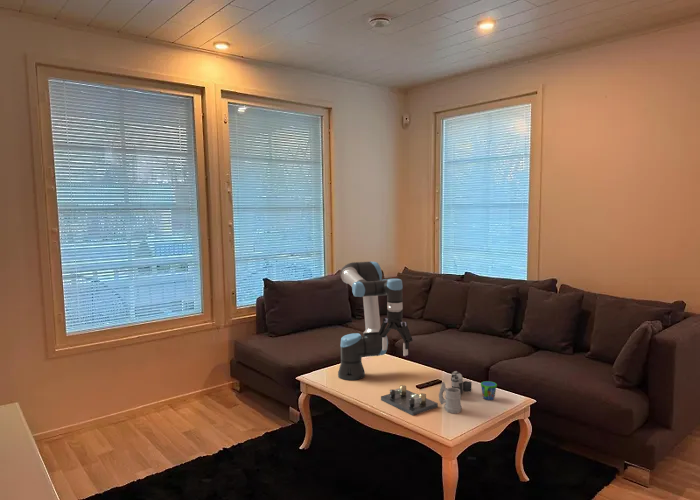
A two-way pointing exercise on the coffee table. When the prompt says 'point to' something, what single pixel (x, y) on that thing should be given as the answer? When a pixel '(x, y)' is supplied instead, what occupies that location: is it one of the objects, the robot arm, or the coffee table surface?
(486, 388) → the snack cup
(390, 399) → the control panel
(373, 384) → the coffee table surface
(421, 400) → the knob right
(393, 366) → the coffee table surface
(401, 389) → the knob left
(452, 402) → the mug
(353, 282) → the robot arm
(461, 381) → the camera
